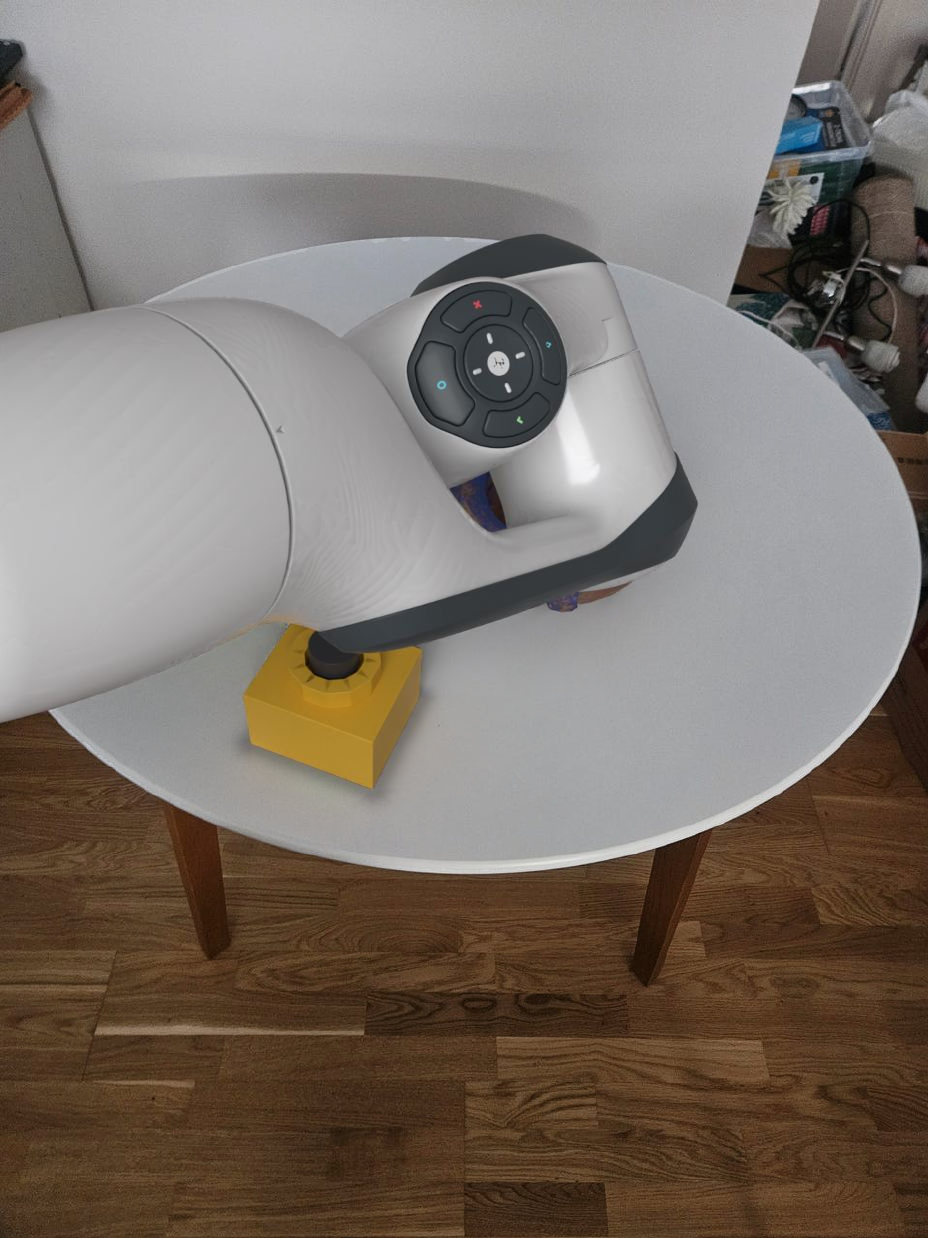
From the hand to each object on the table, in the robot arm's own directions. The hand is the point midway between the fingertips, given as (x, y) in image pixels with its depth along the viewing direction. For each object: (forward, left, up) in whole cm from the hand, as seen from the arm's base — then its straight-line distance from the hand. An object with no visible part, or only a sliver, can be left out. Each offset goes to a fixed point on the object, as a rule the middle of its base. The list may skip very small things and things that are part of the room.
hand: (251, 478), depth 65 cm
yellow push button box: (+8, -4, -18) cm, 20 cm away
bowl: (+18, +19, -18) cm, 32 cm away
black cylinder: (+8, -4, -10) cm, 14 cm away
